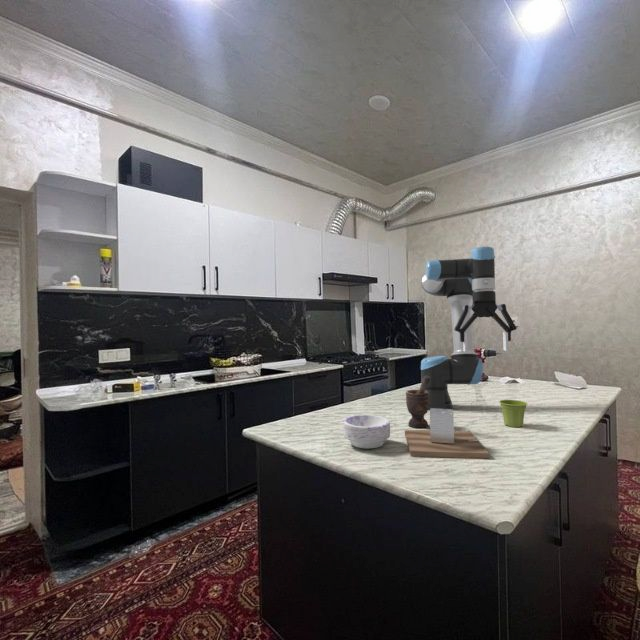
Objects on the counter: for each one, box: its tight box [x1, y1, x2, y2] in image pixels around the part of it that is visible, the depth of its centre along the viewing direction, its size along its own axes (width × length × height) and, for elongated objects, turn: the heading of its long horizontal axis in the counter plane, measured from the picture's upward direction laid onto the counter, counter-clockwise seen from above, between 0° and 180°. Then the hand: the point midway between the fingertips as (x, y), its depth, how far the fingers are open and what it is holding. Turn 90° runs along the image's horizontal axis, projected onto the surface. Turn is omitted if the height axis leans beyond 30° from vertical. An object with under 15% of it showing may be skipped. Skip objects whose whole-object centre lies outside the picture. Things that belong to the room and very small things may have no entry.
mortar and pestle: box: [405, 375, 431, 429], centre depth 139 cm, size 12×9×20 cm
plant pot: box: [498, 399, 528, 428], centre depth 138 cm, size 9×9×9 cm
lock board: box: [404, 429, 490, 460], centre depth 118 cm, size 22×22×2 cm
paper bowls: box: [342, 414, 391, 450], centre depth 121 cm, size 15×15×8 cm
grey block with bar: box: [429, 408, 455, 444], centre depth 120 cm, size 11×7×9 cm, turn 161°
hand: (485, 351), depth 130 cm, fingers open, 13 cm apart
